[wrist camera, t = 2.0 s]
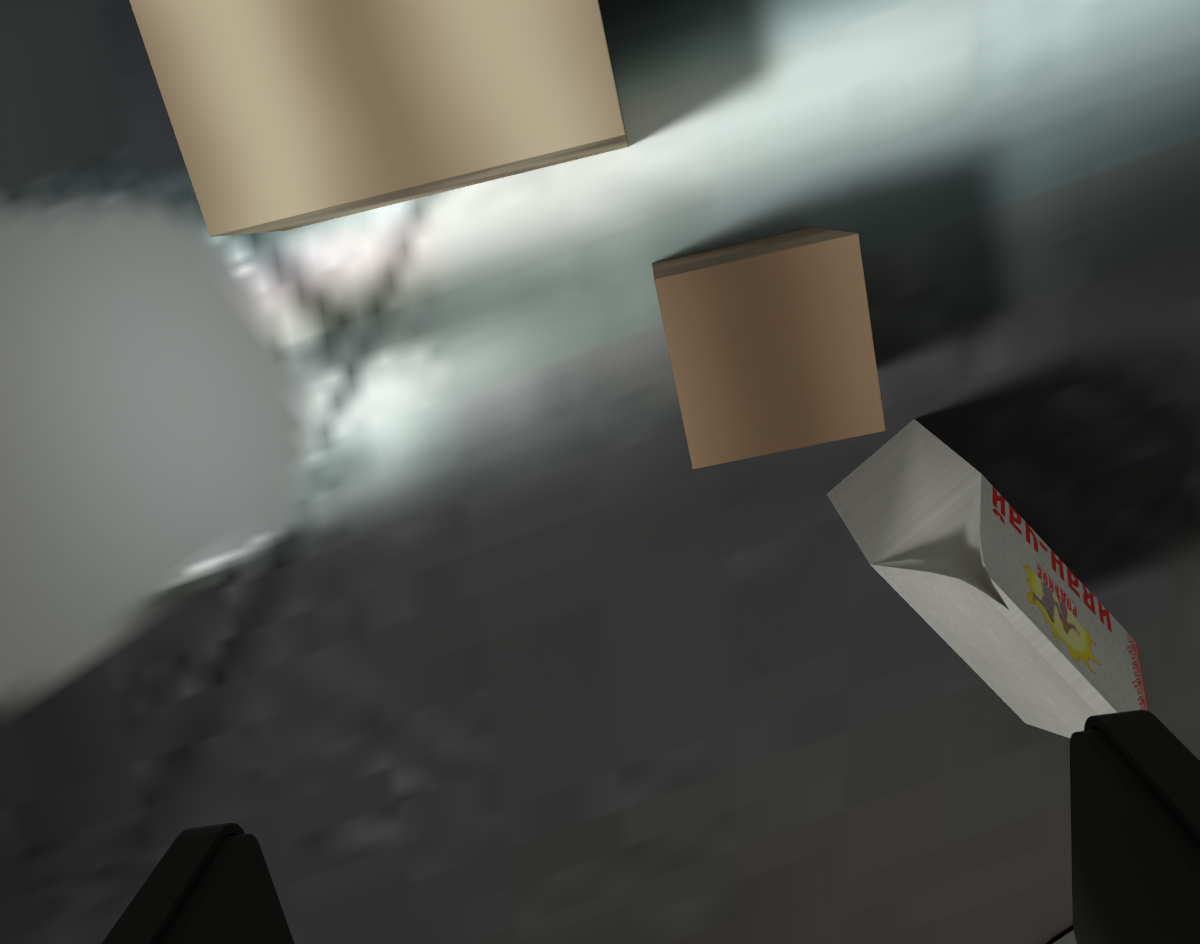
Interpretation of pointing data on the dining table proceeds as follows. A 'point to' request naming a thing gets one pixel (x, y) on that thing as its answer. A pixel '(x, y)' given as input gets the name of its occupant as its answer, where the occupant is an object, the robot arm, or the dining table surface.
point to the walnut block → (770, 344)
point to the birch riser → (373, 99)
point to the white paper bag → (989, 584)
